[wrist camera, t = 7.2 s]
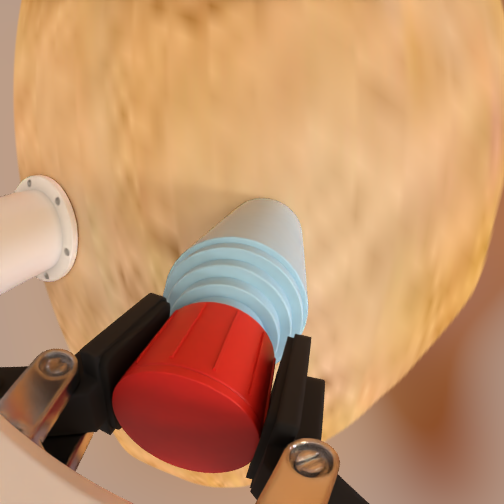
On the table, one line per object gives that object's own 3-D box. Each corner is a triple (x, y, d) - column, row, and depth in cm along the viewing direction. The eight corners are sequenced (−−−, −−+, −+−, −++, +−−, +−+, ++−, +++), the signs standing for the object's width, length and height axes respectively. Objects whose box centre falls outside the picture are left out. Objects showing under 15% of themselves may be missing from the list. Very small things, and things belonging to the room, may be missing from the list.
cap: (286, 316, 9) (277, 399, 6) (261, 405, 11) (246, 484, 7) (165, 287, 10) (104, 349, 6) (161, 377, 11) (119, 445, 7)
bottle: (253, 286, 27) (184, 489, 8) (210, 226, 26) (50, 364, 7) (317, 248, 25) (353, 447, 7) (273, 182, 24) (202, 255, 6)
